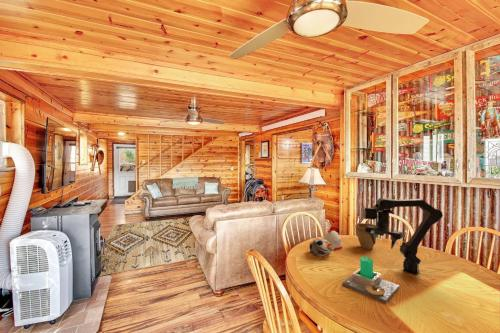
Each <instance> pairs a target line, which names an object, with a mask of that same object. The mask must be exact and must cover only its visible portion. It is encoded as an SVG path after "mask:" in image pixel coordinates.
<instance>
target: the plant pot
mask: <svg viewBox="0 0 500 333" xmlns="http://www.w3.org/2000/svg"><path fill="white" fill-rule="evenodd" d="M354 225H355V232H356V235H357V238H358V239H357V240H358V242H359V245H360V248H362V249H363V250H364V249H365V250H372V249H373V248H374V246H375V244H374V243H373V240H372V238H371V236H370V234H368V233H367V232H365V227H367V226H374V227H375V226H376V225H377V224H373V223H366V222H365V223H364V222H362V223H361V222H360V223H356V224H354ZM377 237H378V235H376V238H377Z"/></svg>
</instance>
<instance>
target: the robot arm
mask: <svg viewBox="0 0 500 333" xmlns="http://www.w3.org/2000/svg"><path fill="white" fill-rule="evenodd" d="M404 207H405V208H407V207H409V208H410V207H411V208H412V207H413V208H414V207H415V208H416V207H418V208H420V210H422V211H423V213H422V220H421V222H420V224H419V225H418V226H417V228H416V229H415V231H414V233H413V234H412V236H411V237H410V239H409V240H408V241H406V242H405V241H404V240H403V241H402V244H401V245H399V252H400V253H401V255H402V256H403V257H404V260H403V261H402V262H403V263H402V265H403V267H402V268H403V269H402V270H403V271H404V272H407V273H410V274H412V275H413V274H414V275H418V274H419V273H420V271H421V270H420V263H421V261H422V260H421V259H420V258H419V257H418V256H417V254H418V249H419V248H418V247H419V246H420V244H421V242H422V241H423V240H424V238H425V236H426V235H427V234H428V232H429V231H430V229H431V228H432V226H433V225H434V224H436V223H438V222H439V221H440V220H442V218H443V216H444V214H443V212H442V211H441V210H440V209H438V208H435V207H433V205H430V204H429V203H428V202H426V201H425V200H424V199H423V198H422V199H421V198H413V199H412V198H411V199H409V198H408V199H405V198H403V199H392V198H386V197H385V198H384V197H380V198H378V199H377V201H376V203H375V205H373V206H372V207H365V206H364V207H363V208H364V210H363V213H362V214H363V219H364V220H377V221H376V224H375V225H376V226H375V227H374V226H367V227H365V232H367V233H368V234H370V236H371V238H372V240H373V243H374V245H376V242H377V241H376V240H377V237H376V235H377V236H381V237H384V236H385V235H388V236H389V235H390V236H391V244H390V245H391V246H390V248H391V250H393V248H394V247H395V245H396V242H397V241H398V240H401V239H403V238H404V233H403V232H402V231H398V230H394V231H391V229H390V214H394V211H392V210H391V209H393V208H394V209H395V208H404Z"/></svg>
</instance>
